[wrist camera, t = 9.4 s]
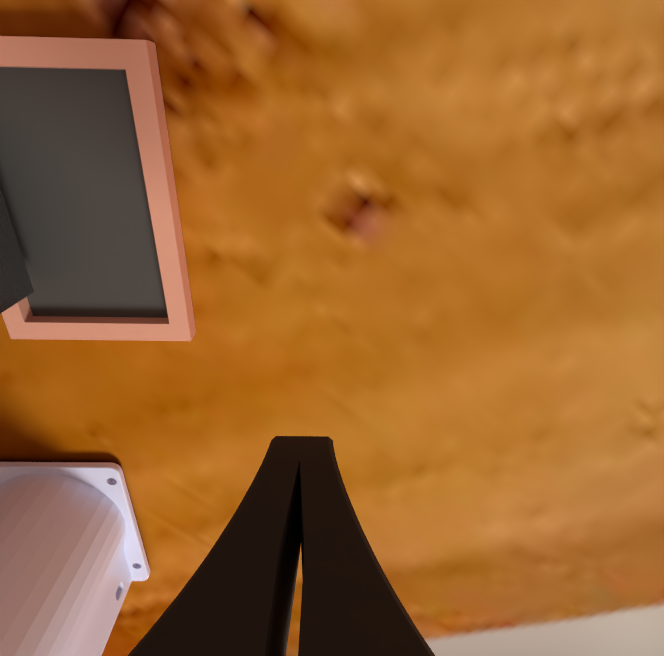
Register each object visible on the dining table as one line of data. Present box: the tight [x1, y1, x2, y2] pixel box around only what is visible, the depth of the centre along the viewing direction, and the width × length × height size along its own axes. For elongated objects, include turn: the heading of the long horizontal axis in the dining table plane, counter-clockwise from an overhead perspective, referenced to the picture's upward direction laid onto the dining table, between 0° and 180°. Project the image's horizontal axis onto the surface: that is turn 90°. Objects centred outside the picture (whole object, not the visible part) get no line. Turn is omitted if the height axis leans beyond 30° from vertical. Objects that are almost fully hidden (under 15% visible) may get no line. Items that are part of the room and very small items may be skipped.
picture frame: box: [0, 36, 196, 341], centre depth 16 cm, size 11×8×1 cm
